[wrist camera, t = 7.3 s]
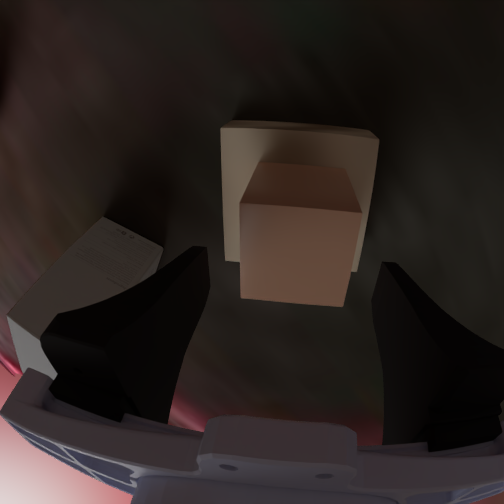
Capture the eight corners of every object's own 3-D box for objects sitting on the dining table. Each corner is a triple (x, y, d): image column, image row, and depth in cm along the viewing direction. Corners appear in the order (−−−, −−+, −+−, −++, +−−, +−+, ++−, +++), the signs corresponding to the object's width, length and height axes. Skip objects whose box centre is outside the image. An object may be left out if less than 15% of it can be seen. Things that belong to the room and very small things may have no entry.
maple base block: (367, 129, 19) (379, 139, 16) (351, 245, 24) (356, 271, 21) (233, 119, 20) (220, 128, 17) (235, 235, 25) (225, 260, 22)
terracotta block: (345, 168, 17) (362, 213, 12) (334, 243, 20) (342, 306, 15) (258, 161, 18) (239, 202, 13) (257, 237, 20) (240, 297, 15)
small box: (102, 214, 25) (3, 313, 14) (165, 246, 26) (87, 368, 15) (91, 277, 29) (20, 372, 18) (144, 306, 30) (86, 414, 19)
